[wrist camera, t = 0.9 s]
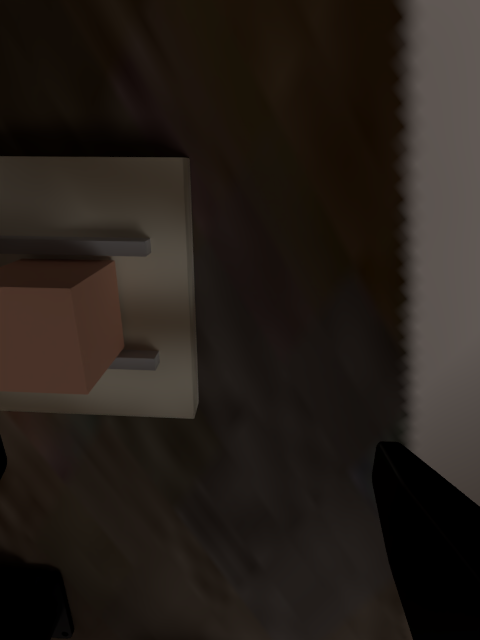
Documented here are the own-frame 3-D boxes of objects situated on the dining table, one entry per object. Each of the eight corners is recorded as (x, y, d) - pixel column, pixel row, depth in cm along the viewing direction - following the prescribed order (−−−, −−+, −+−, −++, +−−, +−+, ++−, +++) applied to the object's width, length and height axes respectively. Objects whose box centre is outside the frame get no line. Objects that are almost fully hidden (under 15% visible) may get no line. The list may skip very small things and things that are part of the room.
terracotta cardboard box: (124, 346, 18) (87, 394, 14) (39, 344, 18) (-19, 390, 14) (114, 260, 16) (70, 288, 13) (21, 258, 17) (-49, 285, 13)
